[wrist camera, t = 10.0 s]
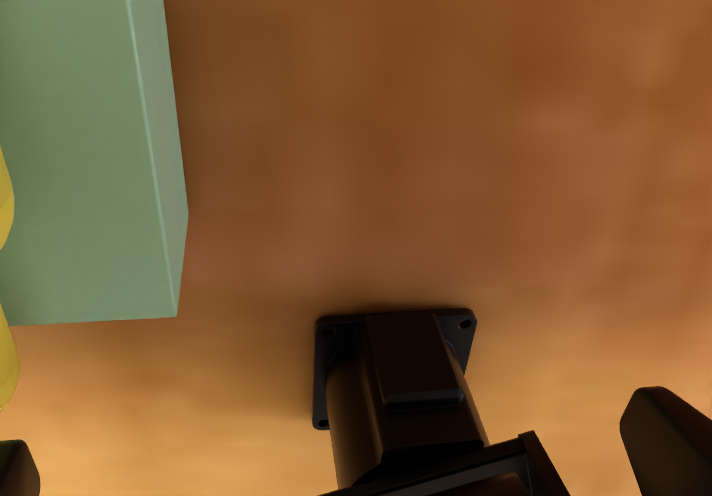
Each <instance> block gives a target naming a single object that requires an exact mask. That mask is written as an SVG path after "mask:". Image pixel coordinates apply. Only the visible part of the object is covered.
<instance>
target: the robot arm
mask: <svg viewBox="0 0 712 496" xmlns="http://www.w3.org/2000/svg"><path fill="white" fill-rule="evenodd" d="M462 320H465V321H463V322H461V321H462ZM476 325H477V319H476V317H475V315H474V313H473V311H472V310H470V309H467V308H458V309H441V310H424V311H407V312H390V313H372V314H355V315H338V316H326V317H322V318H320V319H318V320H317V321H316V323H315V326H314V355H313V388H312V424H313V427H314V428H315V429H318V430H330V434H331V441H332V448H333V455H334V462H335V469H336V476H337V483H338V490H335V491H332V492H329V493H325V494H322V495H318V496H570V494H569V492H568V491H567V489H566V487H565V485H564V483H563V482H562V480H561V478H560V476H559V475H558V473H557V471H556V469H555V467H554V466H553V464H552V462H551V460H550V459H549V457H548V455H547V453H546V451H545V450H544V448H543V446H542V444H541V443H540V441H539V439H538V437H537V435H536V434H535V432H534V430H532V431H528V432H525V433H522V434H518V438H514V439H511V440H507V441H504V442H500V443H497V444H494V445H490V443H489V440H488V438H487V435H486V433H485V430H484V427H483V425H482V422H481V419H480V417H479V414H478V411H477V409H476V406H475V404H474V401H473V398H472V396H471V393H470V390H469V388H468V385H467V382H466V380H465V377H464V374H465V370H466V366H467V362H468V358H469V354H470V350H471V346H472V341H473V337H474V333H475V329H476ZM326 328H331V329H330V330H324V329H326ZM620 434H621V437H622V440H623V443H624V446H625V449H626V452H627V454H628V457H629V460H630V463H631V466H632V469H633V471H634V474H635V477H636V480H637V483H638V486H639V488H640V491H641V494H642V496H712V420H711V419H709V418H708V417H706V416H705V415H704V414H702V413H701V412H699V411H698V410H697V409H695V408H694V407H692V406H691V405H690V404H688V403H687V402H685V401H684V400H683V399H681V398H680V397H678V396H677V395H676V394H674V393H673V392H671V391H670V390H668V389H667V388H664V387H660V386H655V387H643V388H638V389H637V390H636V391H635V392H634V393H633V395H632V397H631V399H630V401H629V403H628V405H627V407H626V409H625V411H624V413H623V415H622V417H621V420H620ZM39 494H40V476H39V472H38V470H37V468H36V465H35V463H34V460H33V458H32V455H31V453H30V451H29V448H28V446H27V444H26V443H25V442H24V441H23V440H6V441H0V496H39Z"/></svg>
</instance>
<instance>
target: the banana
mask: <svg viewBox="0 0 712 496" xmlns="http://www.w3.org/2000/svg"><path fill="white" fill-rule="evenodd" d="M13 218H14V193H13V187H12V182H11V179H10V176H9V172H8V169H7V166H6V163H5V159H4V156H3V153H2V150H1V146H0V250H1V248H2V247H3V246H4V244H5V242H6V240H7V237H8V234H9V232H10V229H11V226H12V223H13ZM18 377H19V356H18V351H17V347H16V344H15V342H14V339H13V336H12V334H11V331H10V328H9V325H8V323H7V320H6V317H5V315H4V312H3V309H2V307H1V304H0V411H1V410H2V409H3V408H4V407H5V405H6V404H7V403H8V401H9V400H10V398H11V396H12V394H13V392H14V390H15V387H16V385H17V381H18Z"/></svg>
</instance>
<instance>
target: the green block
mask: <svg viewBox="0 0 712 496" xmlns="http://www.w3.org/2000/svg"><path fill="white" fill-rule="evenodd" d="M0 146H1V150H2V153H3V156H4V159H5V163H6V166H7V169H8V172H9V176H10V179H11V182H12V187H13V193H14V218H13V223H12V226H11V229H10V232H9V234H8V237H7V240H6V242H5V244H4V246H3V247H2V248H1V250H0V304H1V307H2V309H3V312H4V315H5V317H6V320H7V323H8V325H9V326H24V325H42V324H60V323H77V322H95V321H113V320H131V319H149V318H167V317H175V316H176V315H177V310H178V302H179V293H180V284H181V276H182V267H183V259H184V250H185V241H186V233H187V224H188V216H189V213H188V204H187V196H186V187H185V179H184V171H183V162H182V154H181V145H180V137H179V128H178V120H177V112H176V103H175V95H174V86H173V78H172V69H171V61H170V53H169V44H168V36H167V27H166V19H165V11H164V2H163V0H0Z"/></svg>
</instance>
